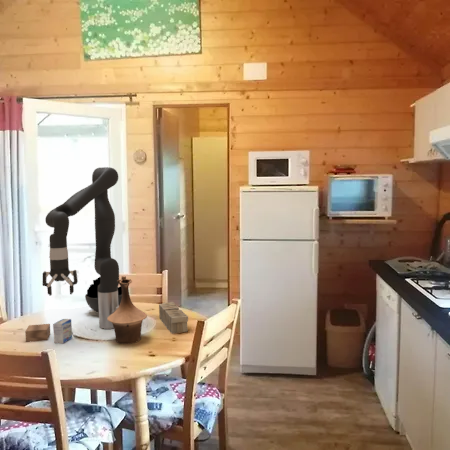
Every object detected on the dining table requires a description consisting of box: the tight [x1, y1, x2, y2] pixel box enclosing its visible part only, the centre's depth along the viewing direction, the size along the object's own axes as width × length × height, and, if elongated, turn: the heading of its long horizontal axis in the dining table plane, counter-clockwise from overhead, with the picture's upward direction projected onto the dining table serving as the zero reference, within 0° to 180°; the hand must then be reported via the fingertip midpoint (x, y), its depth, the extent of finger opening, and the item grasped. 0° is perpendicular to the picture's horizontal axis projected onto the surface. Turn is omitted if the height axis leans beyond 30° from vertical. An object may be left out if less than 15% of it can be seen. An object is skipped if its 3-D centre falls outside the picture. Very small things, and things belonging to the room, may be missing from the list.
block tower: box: [158, 301, 189, 334], centre depth 233 cm, size 8×8×29 cm
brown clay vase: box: [107, 275, 148, 345], centre depth 212 cm, size 18×17×28 cm
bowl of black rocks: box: [84, 276, 122, 314], centre depth 256 cm, size 20×20×19 cm
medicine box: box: [52, 318, 73, 344], centre depth 214 cm, size 8×4×9 cm, turn 168°
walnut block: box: [25, 323, 51, 343], centre depth 218 cm, size 9×9×5 cm
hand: (60, 294), depth 212 cm, fingers open, 8 cm apart
